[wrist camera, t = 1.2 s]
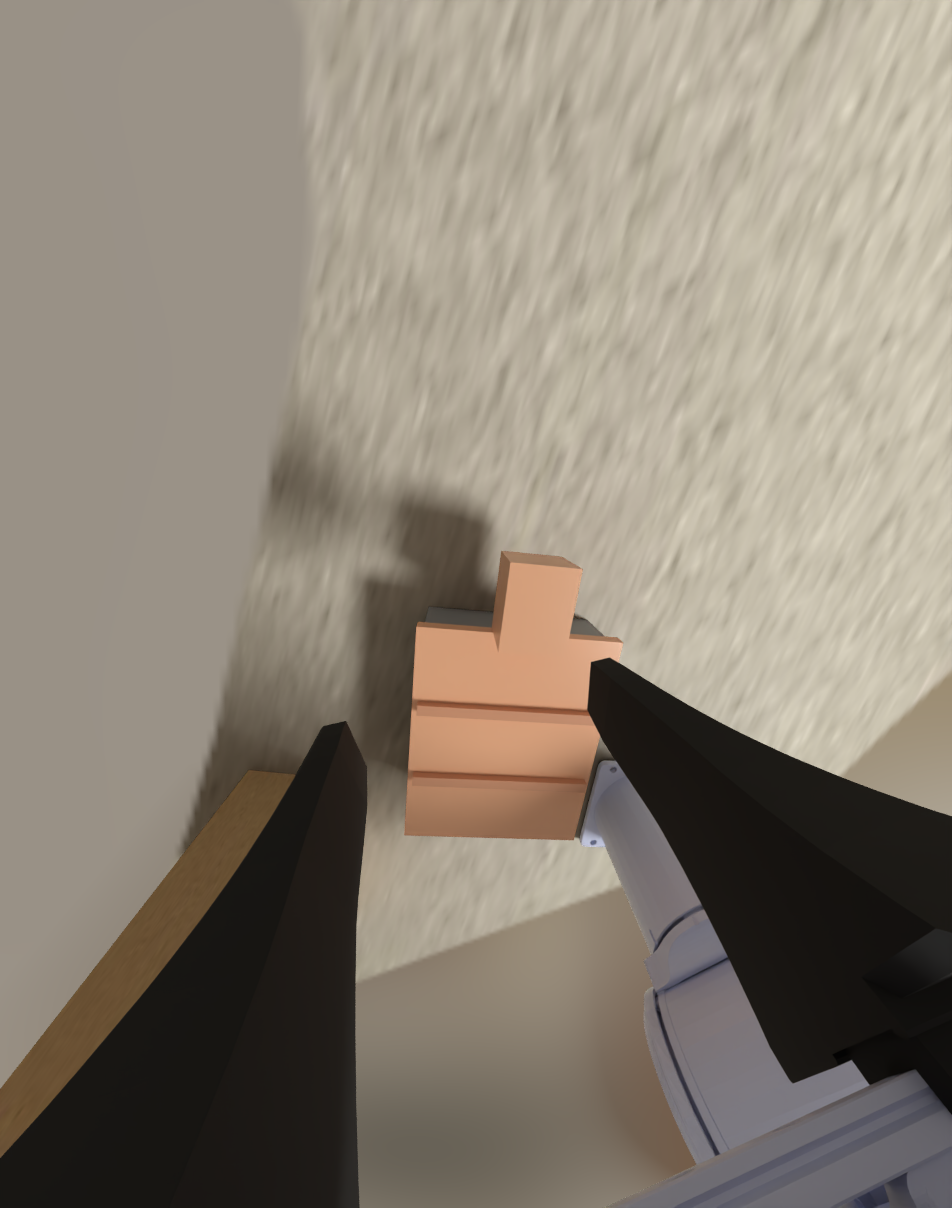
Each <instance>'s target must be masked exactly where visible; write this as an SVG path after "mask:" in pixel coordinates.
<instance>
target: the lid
mask: <svg viewBox="0 0 952 1208" xmlns="http://www.w3.org/2000/svg"><path fill="white" fill-rule="evenodd" d="M582 571H583V569H582V568H580V567H578V566H577V565H575V564H573V563H571V562H570V561H568V560H566V559H565V558H563V557H559V556H549V555H539V554H529V553H519V552H508V551H501V558H500V566H499V573H498V581H497V589H496V597H495V605H494V613H493V621H492V628H491V627H478V626H466V625H453V624H440V623H428V622H418V623H417V626H416V642H415V659H414V676H413V694H412V711H411V729H410V746H409V763H408V781H407V798H406V816H405V833H404V835H412V836H447V837H482V838H516V839H551V840H574V837H575V833H576V829H577V825H578V821H579V817H580V813H581V809H582V806H583V802H584V798H585V794H586V790H587V786H588V782H589V778H590V774H591V770H592V766H593V762H594V758H595V754H596V750H597V746H598V742H599V738H600V734H599V732H598V731H597V729H596V727H595V725H594V723H593V721H592V719H591V717H590V714H589V712H588V710H587V705H588V692H589V679H590V667H591V662H593V661H597V660H601V659H605V658H609V657H610V658H612V659H613V660H615V661H617V662H619V658H620V654H621V650H622V646H623V642H622V641H621V640H620V639H618V638H617V637H604V636H592V635H579V634H570V631H571V626H572V621H573V616H574V611H575V606H576V601H577V596H578V591H579V586H580V581H581V576H582Z"/></svg>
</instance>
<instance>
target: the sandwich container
mask: <svg viewBox="0 0 952 1208" xmlns="http://www.w3.org/2000/svg"><path fill="white" fill-rule="evenodd" d="M295 775H296V774H286V773H275V772H264V771H253V770H248V772H247V773H246V774H245V776H244V777H243V778H242V779H241V781H240V782H239V783H238V784H237V786H236V787H235V788H234V790H233V791H232V792H231V793H230V795H229V796H228V797H227V799H226V800H225V801H224V802H223V804H222V805H221V806H220V808H219V809H218V810H217V811H216V813H215V814H214V815H213V817H212V818H211V819H210V820H209V822H208V823H207V824H206V826H205V827H204V828H203V829H202V831H201V832H200V833H199V835H198V836H197V837H196V838H195V840H194V841H193V842H192V843H191V845H190V846H189V847H188V849H187V850H186V851H185V852H184V854H183V855H182V856H181V858H180V859H179V860H178V861H177V863H176V864H175V865H174V867H173V868H172V869H171V870H170V872H169V873H168V874H167V876H166V877H165V878H164V879H163V881H162V882H161V883H160V885H159V886H158V887H157V889H156V890H155V891H154V892H153V894H152V895H151V896H150V898H149V899H148V900H147V901H146V903H145V904H144V905H143V906H142V908H141V909H140V910H139V912H138V913H137V914H136V915H135V917H134V918H133V919H132V921H131V922H130V923H129V924H128V926H127V927H126V928H125V930H124V931H123V932H122V933H121V935H120V936H119V937H118V939H117V940H116V941H115V942H114V944H113V945H112V946H111V948H110V949H109V950H108V951H107V953H106V954H105V955H104V957H103V958H102V959H101V960H100V962H99V963H98V964H97V966H96V967H95V968H94V969H93V971H92V972H91V973H90V975H89V976H88V977H87V979H86V980H85V981H84V982H83V983H82V985H81V986H80V987H79V989H78V990H77V991H76V992H75V994H74V995H73V996H72V998H71V999H70V1000H69V1002H68V1003H67V1004H66V1006H65V1007H64V1008H63V1009H62V1011H61V1012H60V1013H59V1014H58V1016H57V1017H56V1018H55V1020H54V1021H53V1022H52V1023H51V1025H50V1026H49V1027H48V1028H47V1030H46V1031H45V1032H44V1034H43V1035H42V1036H41V1038H40V1039H39V1040H38V1041H37V1043H36V1044H35V1045H34V1047H33V1048H32V1049H31V1050H30V1052H29V1053H28V1054H27V1055H26V1057H25V1058H24V1059H23V1061H22V1062H21V1063H20V1065H19V1066H18V1067H17V1069H16V1070H15V1071H14V1072H13V1073H12V1075H11V1076H10V1077H9V1079H8V1080H7V1081H6V1082H5V1084H4V1085H3V1086H2V1088H1V1089H0V1158H1V1157H2V1155H3V1154H4V1153H5V1152H6V1151H7V1150H8V1149H9V1148H10V1147H11V1146H12V1144H13V1143H14V1142H15V1141H16V1140H17V1139H18V1138H19V1137H20V1136H21V1134H22V1133H23V1132H24V1131H25V1130H26V1129H27V1128H28V1127H29V1126H30V1125H31V1123H32V1122H33V1121H34V1120H35V1119H36V1118H37V1117H38V1116H39V1115H40V1114H41V1112H42V1111H43V1110H44V1109H45V1108H46V1107H47V1106H48V1105H49V1103H50V1102H51V1101H52V1100H53V1099H54V1098H55V1097H56V1095H57V1094H58V1093H59V1092H60V1091H61V1090H62V1089H63V1087H64V1086H65V1085H66V1084H67V1083H68V1082H69V1080H70V1079H71V1078H72V1077H73V1076H74V1075H75V1074H76V1072H77V1071H78V1070H79V1069H80V1068H81V1066H82V1065H83V1064H84V1063H85V1062H86V1061H87V1059H88V1058H89V1057H90V1056H91V1055H92V1053H93V1052H94V1051H95V1050H96V1049H97V1047H98V1046H99V1045H100V1044H101V1043H102V1042H103V1040H104V1039H105V1038H106V1037H107V1036H108V1034H109V1033H110V1032H111V1031H112V1030H113V1029H114V1027H115V1026H116V1025H117V1024H118V1023H119V1021H120V1020H121V1019H122V1018H123V1017H124V1015H125V1014H126V1013H127V1012H128V1011H129V1010H130V1008H131V1007H132V1006H133V1005H134V1004H135V1002H136V1001H137V1000H138V999H139V998H140V996H141V995H142V994H143V993H144V991H145V990H146V989H147V988H148V987H149V985H150V984H151V983H152V982H153V980H154V979H155V978H156V977H157V975H158V974H159V973H160V972H161V970H162V969H163V968H164V967H165V965H166V964H167V963H168V961H169V960H170V959H171V958H172V956H173V955H174V954H175V952H176V951H177V950H178V948H179V947H180V946H181V945H182V943H183V942H184V941H185V939H186V938H187V937H188V935H189V934H190V933H191V932H192V930H193V929H194V928H195V926H196V925H197V924H198V922H199V921H200V920H201V918H202V917H203V916H204V914H205V913H206V912H207V910H208V909H209V908H210V906H211V905H212V903H213V902H214V901H215V899H216V898H217V897H218V895H219V894H220V892H221V891H222V890H223V888H224V887H225V885H226V884H227V883H228V881H229V880H230V878H231V877H232V875H233V874H234V872H235V871H236V870H237V868H238V867H239V865H240V864H241V862H242V861H243V859H244V858H245V856H246V855H247V853H248V852H249V850H250V849H251V847H252V845H253V844H254V842H255V841H256V839H257V838H258V836H259V835H260V833H261V831H262V830H263V828H264V827H265V825H266V824H267V822H268V821H269V819H270V817H271V816H272V814H273V813H274V811H275V809H276V808H277V806H278V804H279V803H280V801H281V799H282V797H283V796H284V794H285V792H286V791H287V789H288V787H289V786H290V784H291V782H292V781H293V779H294V777H295Z"/></svg>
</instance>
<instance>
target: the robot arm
mask: <svg viewBox="0 0 952 1208" xmlns="http://www.w3.org/2000/svg"><path fill="white" fill-rule="evenodd" d="M587 710H588V712H589V714H590V717H591V719H592V721H593V723H594V725H595V727H596V729H597V731H598V732H599V734H600V736H601V738H602V740H603V742H604V743H605V745H606V746H607V748H608V749H609V751H610V753H611V754H612V756H613V757H614V759H615V760H616V761H602V762H600V763H599V765H598V768H597V772H596V776H595V780H594V784H593V788H592V792H591V795H590V799H589V803H588V807H587V811H586V815H585V819H584V823H583V827H582V830H581V834H580V842H581V844H582V845H583V846H586V847H606V849H607V851H608V854H609V856H610V859H611V861H612V863H613V866H614V868H615V870H616V873H617V875H618V877H619V880H620V882H621V885H622V887H623V889H624V892H625V894H626V896H627V899H628V901H629V903H630V906H631V908H632V911H633V913H634V915H635V918H636V920H637V922H638V925H639V927H640V929H641V932H642V934H643V937H644V939H645V941H646V943H647V946H648V948H649V951H650V953H651V956H650V957H648V958H646V959H645V960H644V964H645V966H646V969H647V971H648V974H649V976H650V979H651V981H652V984H653V987H651V988H649V989H648V990H647V991H646V992H645V995H644V1027H645V1033H646V1038H647V1042H648V1046H649V1049H650V1053H651V1057H652V1059H653V1063H654V1066H655V1069H656V1072H657V1075H658V1078H659V1081H660V1083H661V1086H662V1088H663V1091H664V1094H665V1096H666V1099H667V1102H668V1104H669V1106H670V1109H671V1111H672V1113H673V1116H674V1118H675V1121H676V1123H677V1125H678V1127H679V1130H680V1132H681V1134H682V1136H683V1138H684V1140H685V1142H686V1144H687V1146H688V1148H689V1151H690V1153H691V1154H692V1156H693V1158H694V1160H695V1162H696V1164H697V1165H696V1166H694V1167H691V1168H689V1169H687V1170H685V1171H683V1172H680V1173H678V1174H676V1175H674V1176H672V1177H670V1178H667V1179H665V1180H663V1181H661V1182H659V1183H657V1184H654V1185H652V1186H650V1187H648V1188H646V1189H644V1190H641V1191H639V1192H637V1193H635V1194H633V1195H630V1196H629V1197H626V1198H624V1199H622V1200H620V1201H617V1202H615V1203H613V1204H611V1205H609V1206H607V1207H604V1208H952V816H949V815H946V814H943V813H939V812H936V811H933V810H930V809H927V808H924V807H921V806H918V805H915V804H913V803H909V802H907V801H904V800H901V799H898V798H896V797H893V796H890V795H887V794H884V793H882V792H879V791H876V790H873V789H871V788H868V787H865V786H863V785H860V784H857V783H855V782H852V781H850V780H847V779H844V778H842V777H839V776H837V775H834V774H832V773H829V772H827V771H825V770H822V769H820V768H817V767H815V766H812V765H810V764H807V763H805V762H803V761H800V760H798V759H796V758H793V757H791V756H789V755H786V754H784V753H782V752H780V751H777V750H775V749H773V748H771V747H769V746H767V745H765V744H763V743H760V742H758V741H756V740H754V739H752V738H750V737H748V736H746V735H743V734H741V733H739V732H737V731H735V730H733V729H732V728H730V727H728V726H726V725H724V724H722V723H720V722H718V721H716V720H715V719H713V718H711V717H709V716H707V715H705V714H703V713H701V712H700V711H698V710H696V709H694V708H693V707H691V706H689V705H687V704H686V703H684V702H682V701H680V700H679V699H677V698H675V697H674V696H672V695H670V694H669V693H667V692H665V691H664V690H662V689H660V688H659V687H657V686H655V685H654V684H652V683H650V682H649V681H647V680H646V679H644V678H642V677H641V676H639V675H638V674H636V673H634V672H633V671H631V670H630V669H628V668H626V667H625V666H623V665H621V664H620V663H618V662H617V661H615V660H613V659H612V658H610V657H609V658H605V659H601V660H597V661H593V662H591V667H590V679H589V692H588V705H587ZM612 767H614V768H612ZM611 768H612V769H611ZM366 814H367V767H366V764H365V762H364V760H363V758H362V755H361V753H360V751H359V749H358V746H357V744H356V742H355V740H354V737H353V735H352V733H351V731H350V729H349V726H348V724H347V722H346V721H344V722H339V723H335V724H331V725H327V726H323V727H322V729H321V730H320V732H319V734H318V736H317V737H316V739H315V741H314V743H313V745H312V747H311V748H310V750H309V752H308V754H307V756H306V757H305V759H304V761H303V763H302V765H301V766H300V768H299V770H298V772H297V774H296V775H295V777H294V779H293V781H292V782H291V784H290V786H289V787H288V789H287V791H286V792H285V794H284V796H283V797H282V799H281V801H280V803H279V804H278V806H277V808H276V809H275V811H274V813H273V814H272V816H271V817H270V819H269V821H268V822H267V824H266V825H265V827H264V828H263V830H262V831H261V833H260V835H259V836H258V838H257V839H256V841H255V842H254V844H253V845H252V847H251V849H250V850H249V852H248V853H247V855H246V856H245V858H244V859H243V861H242V862H241V864H240V865H239V867H238V868H237V870H236V871H235V872H234V874H233V875H232V877H231V878H230V880H229V881H228V883H227V884H226V885H225V887H224V888H223V890H222V891H221V892H220V894H219V895H218V897H217V898H216V899H215V901H214V902H213V903H212V905H211V906H210V908H209V909H208V910H207V912H206V913H205V914H204V916H203V917H202V918H201V920H200V921H199V922H198V924H197V925H196V926H195V928H194V929H193V930H192V932H191V933H190V934H189V935H188V937H187V938H186V939H185V941H184V942H183V943H182V945H181V946H180V947H179V948H178V950H177V951H176V952H175V954H174V955H173V956H172V958H171V959H170V960H169V961H168V963H167V964H166V965H165V967H164V968H163V969H162V970H161V972H160V973H159V974H158V975H157V977H156V978H155V979H154V980H153V982H152V983H151V984H150V985H149V987H148V988H147V989H146V990H145V991H144V993H143V994H142V995H141V996H140V998H139V999H138V1000H137V1001H136V1002H135V1004H134V1005H133V1006H132V1007H131V1008H130V1010H129V1011H128V1012H127V1013H126V1014H125V1015H124V1017H123V1018H122V1019H121V1020H120V1021H119V1023H118V1024H117V1025H116V1026H115V1027H114V1029H113V1030H112V1031H111V1032H110V1033H109V1034H108V1036H107V1037H106V1038H105V1039H104V1040H103V1042H102V1043H101V1044H100V1045H99V1046H98V1047H97V1049H96V1050H95V1051H94V1052H93V1053H92V1055H91V1056H90V1057H89V1058H88V1059H87V1061H86V1062H85V1063H84V1064H83V1065H82V1066H81V1068H80V1069H79V1070H78V1071H77V1072H76V1074H75V1075H74V1076H73V1077H72V1078H71V1079H70V1080H69V1082H68V1083H67V1084H66V1085H65V1086H64V1087H63V1089H62V1090H61V1091H60V1092H59V1093H58V1094H57V1095H56V1097H55V1098H54V1099H53V1100H52V1101H51V1102H50V1103H49V1105H48V1106H47V1107H46V1108H45V1109H44V1110H43V1111H42V1112H41V1114H40V1115H39V1116H38V1117H37V1118H36V1119H35V1120H34V1121H33V1122H32V1123H31V1125H30V1126H29V1127H28V1128H27V1129H26V1130H25V1131H24V1132H23V1133H22V1134H21V1136H20V1137H19V1138H18V1139H17V1140H16V1141H15V1142H14V1143H13V1144H12V1146H11V1147H10V1148H9V1149H8V1150H7V1151H6V1152H5V1153H4V1154H3V1155H2V1157H1V1158H0V1208H359V1186H358V1155H357V1154H358V1153H357V1117H356V1058H355V1057H356V1056H355V973H356V923H357V907H358V895H359V885H360V875H361V865H362V855H363V845H364V835H365V824H366Z"/></svg>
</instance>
